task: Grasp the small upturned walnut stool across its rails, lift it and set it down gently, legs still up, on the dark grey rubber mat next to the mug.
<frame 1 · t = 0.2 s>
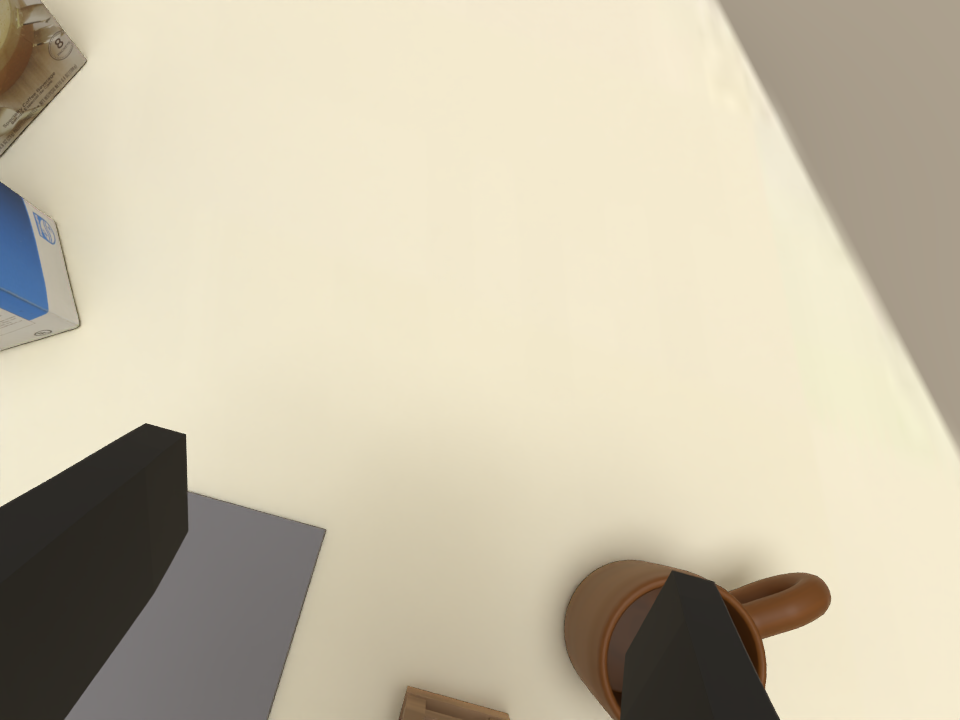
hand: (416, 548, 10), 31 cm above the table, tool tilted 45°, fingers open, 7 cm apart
mat: (173, 616, 39), on the table
coffee box: (5, 89, 45), on the table
mug: (663, 612, 40), on the table
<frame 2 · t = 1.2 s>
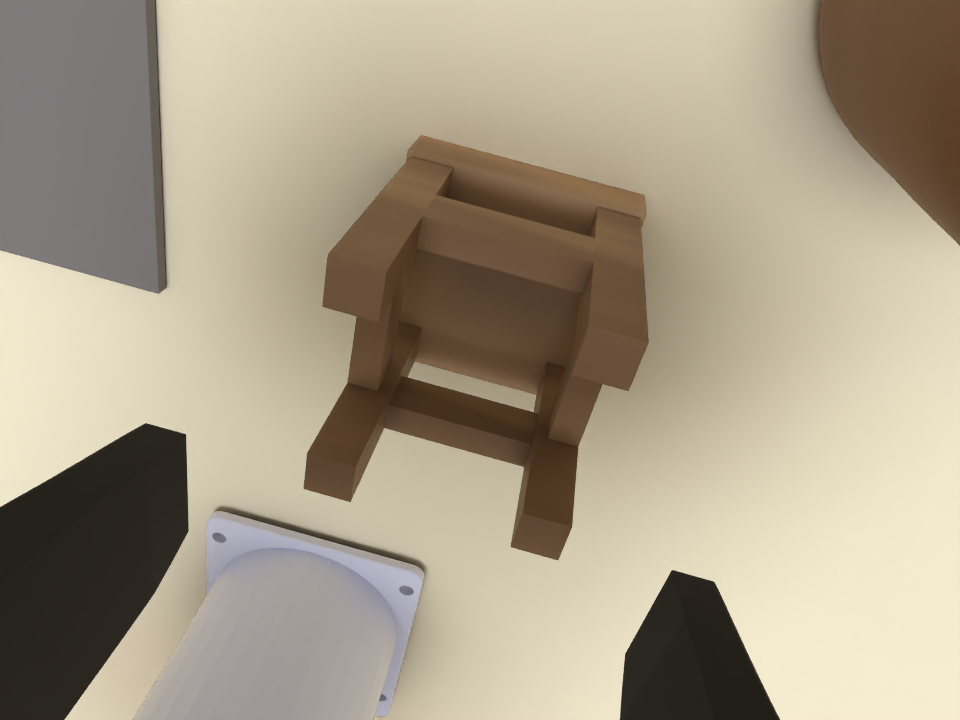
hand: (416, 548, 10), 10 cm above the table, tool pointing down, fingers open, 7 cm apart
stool: (506, 265, 19), on the table
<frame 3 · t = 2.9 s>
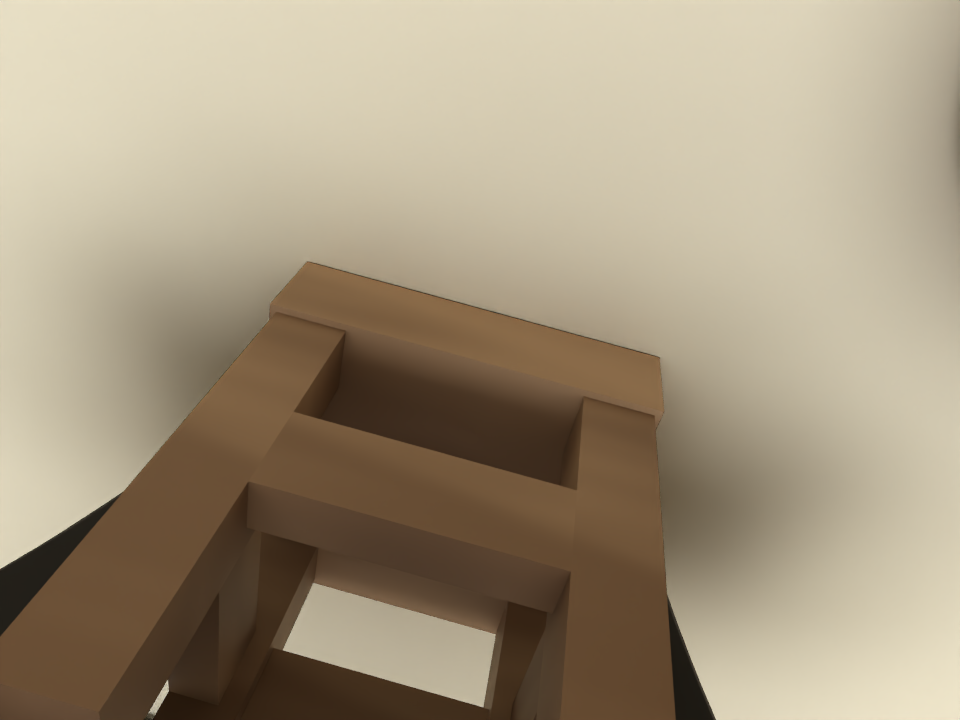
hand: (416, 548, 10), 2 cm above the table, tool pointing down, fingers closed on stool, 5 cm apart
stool: (448, 444, 12), on the table, touching gripper
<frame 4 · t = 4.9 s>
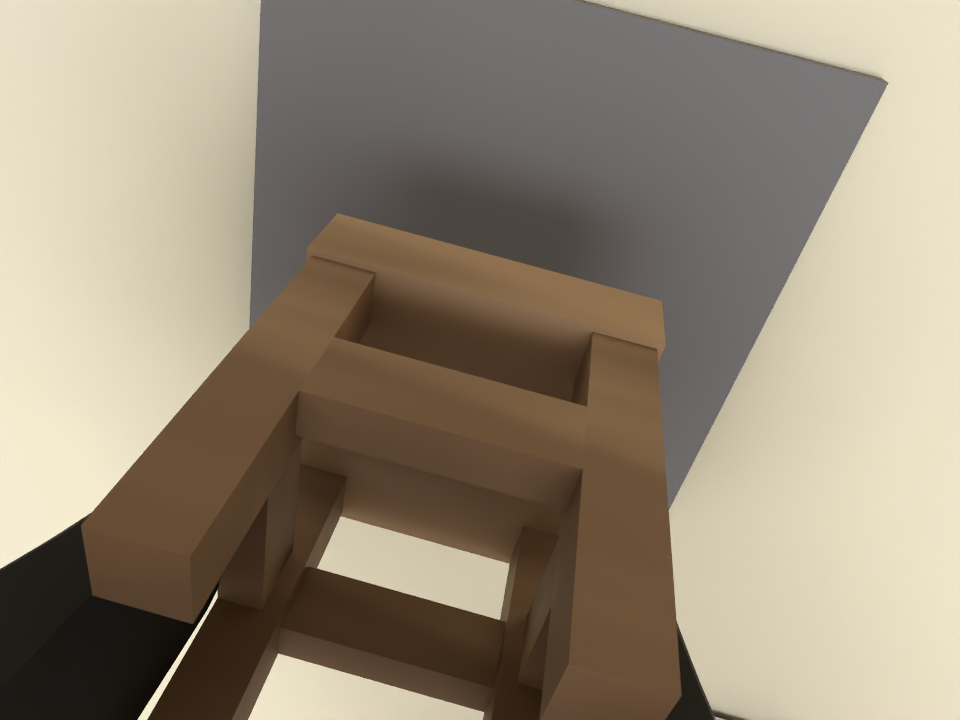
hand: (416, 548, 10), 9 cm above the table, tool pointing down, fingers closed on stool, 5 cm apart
mat: (502, 273, 18), on the table
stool: (466, 387, 13), point 6 cm above the table, touching gripper
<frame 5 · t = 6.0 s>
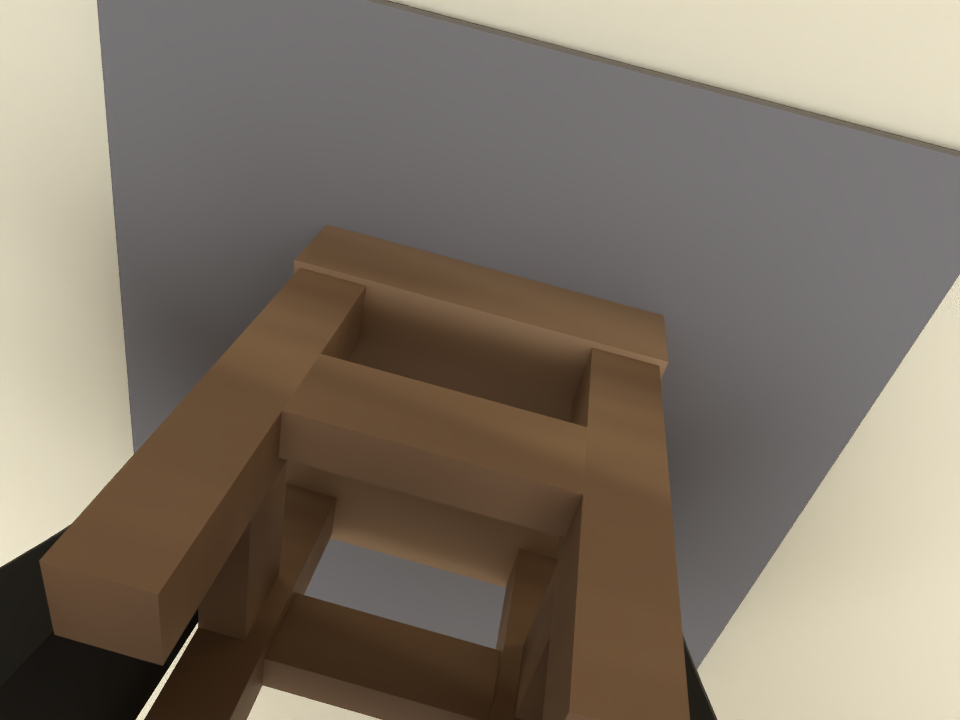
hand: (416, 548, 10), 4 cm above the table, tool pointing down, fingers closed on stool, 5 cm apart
mat: (462, 405, 13), on the table
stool: (460, 404, 13), resting on mat, touching gripper
when the fingers open (4 cm above the table, at t = 6.9 s): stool stays where it is, resting on mat.
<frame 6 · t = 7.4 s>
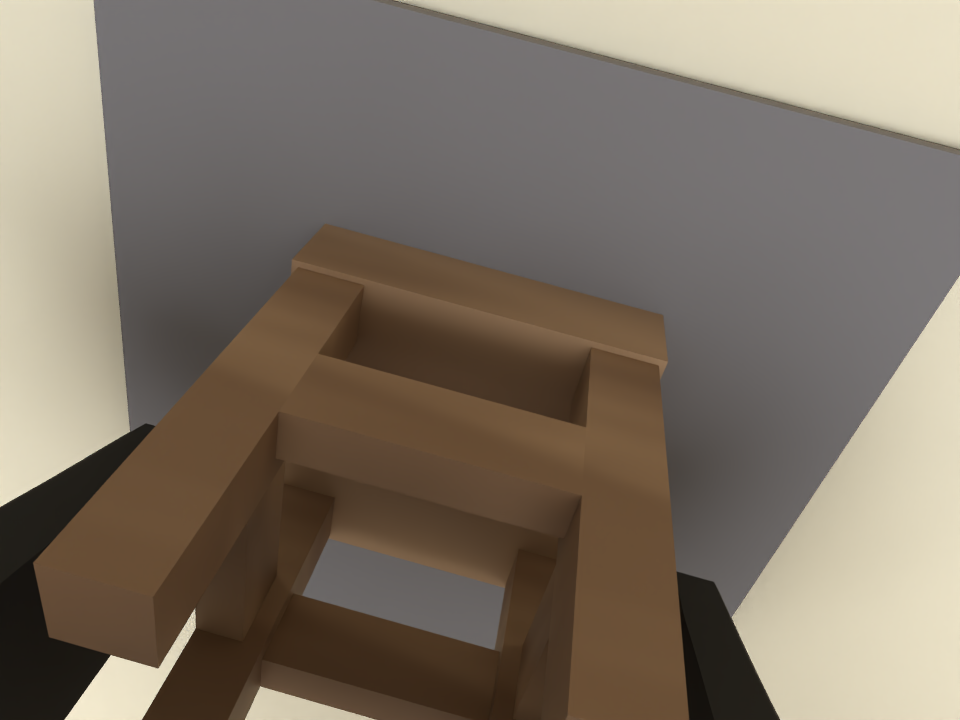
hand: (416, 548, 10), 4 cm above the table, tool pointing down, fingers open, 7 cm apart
mat: (461, 405, 13), on the table
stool: (459, 404, 13), resting on mat
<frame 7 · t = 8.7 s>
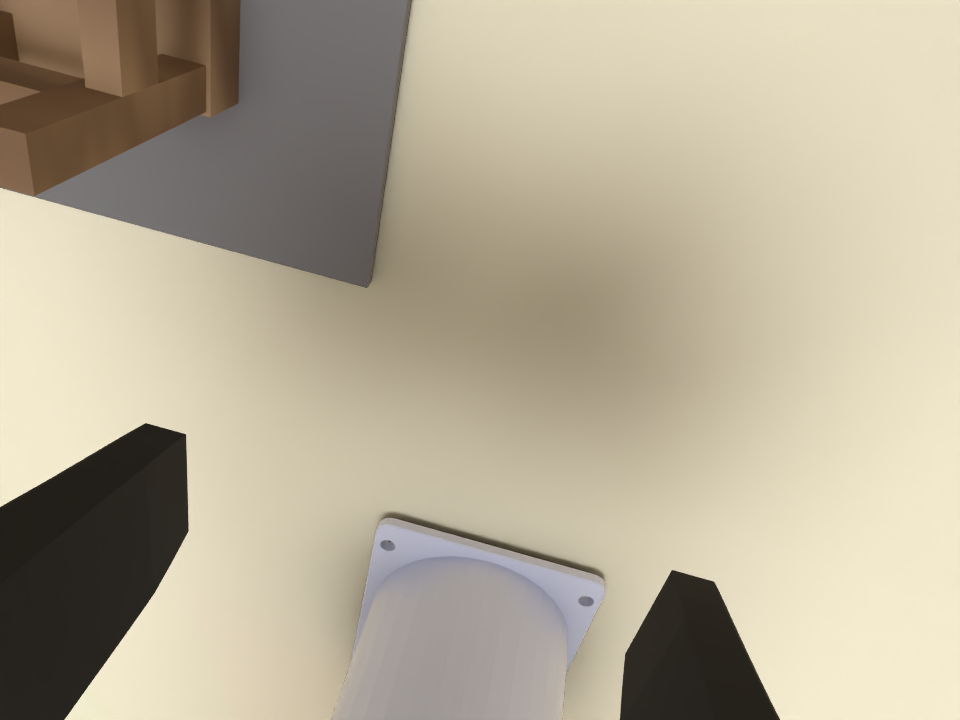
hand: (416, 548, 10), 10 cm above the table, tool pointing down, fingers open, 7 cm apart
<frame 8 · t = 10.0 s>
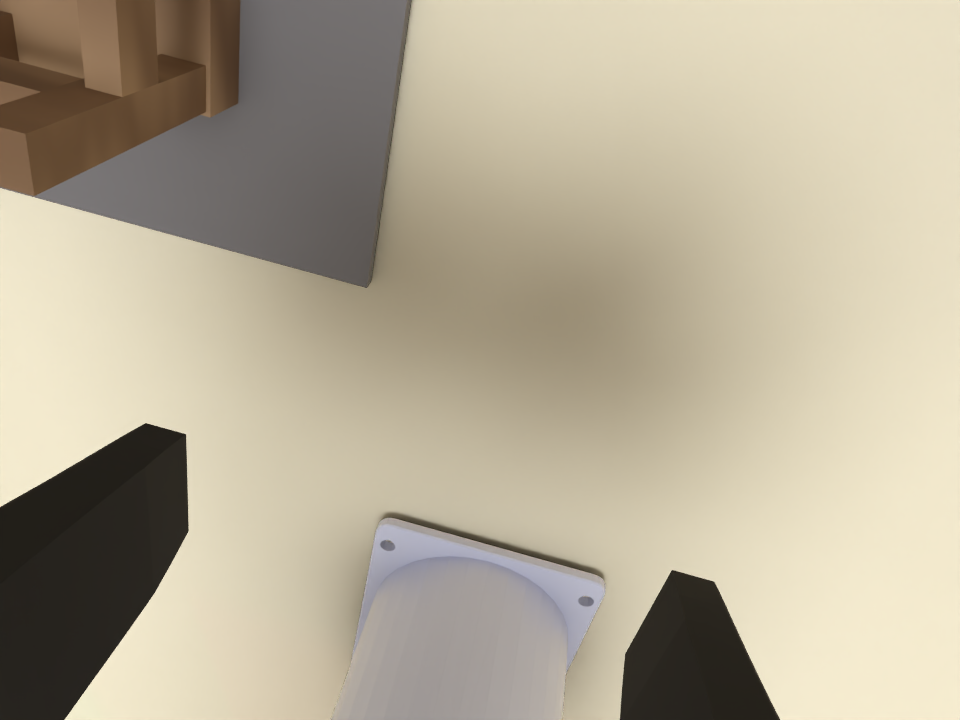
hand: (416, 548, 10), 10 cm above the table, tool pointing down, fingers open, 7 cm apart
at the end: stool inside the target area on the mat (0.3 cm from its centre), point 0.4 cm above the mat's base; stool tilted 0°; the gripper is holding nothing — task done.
